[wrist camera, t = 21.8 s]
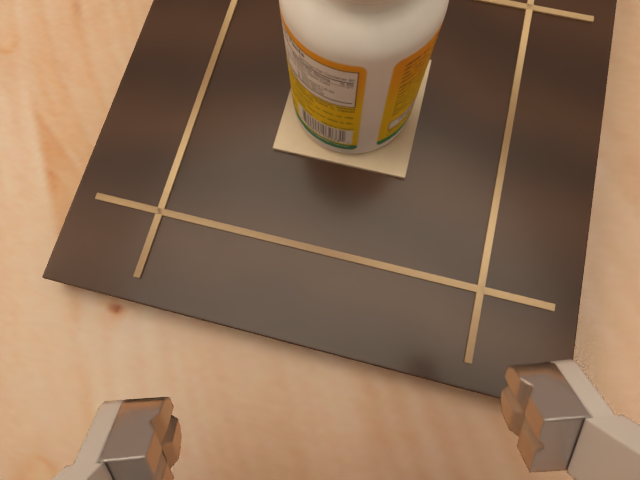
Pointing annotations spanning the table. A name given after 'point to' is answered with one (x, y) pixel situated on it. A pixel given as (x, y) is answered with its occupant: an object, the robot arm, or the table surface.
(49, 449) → the table surface
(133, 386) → the table surface
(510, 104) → the board
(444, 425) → the table surface
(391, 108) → the supplement bottle
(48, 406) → the table surface
